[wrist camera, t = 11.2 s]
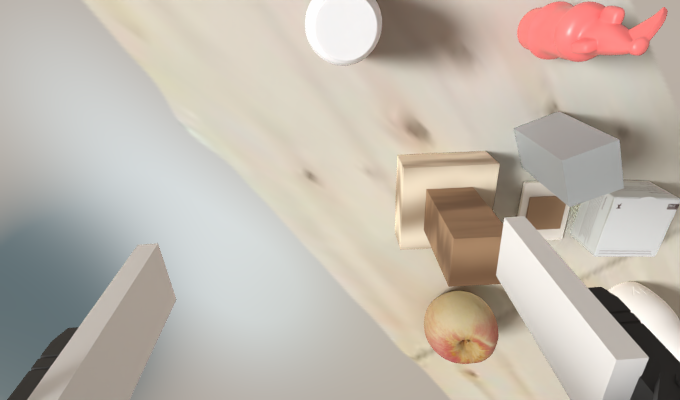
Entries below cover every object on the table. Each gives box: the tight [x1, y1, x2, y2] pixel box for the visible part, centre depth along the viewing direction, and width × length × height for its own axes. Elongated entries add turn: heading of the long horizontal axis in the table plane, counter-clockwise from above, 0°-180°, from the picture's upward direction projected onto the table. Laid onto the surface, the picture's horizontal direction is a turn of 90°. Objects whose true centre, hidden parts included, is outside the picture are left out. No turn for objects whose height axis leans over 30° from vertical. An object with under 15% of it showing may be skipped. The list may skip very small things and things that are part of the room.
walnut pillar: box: [424, 187, 503, 287], centre depth 40 cm, size 5×5×10 cm
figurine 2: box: [608, 281, 680, 362], centre depth 51 cm, size 7×8×12 cm
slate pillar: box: [514, 111, 624, 207], centre depth 41 cm, size 5×5×10 cm
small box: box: [570, 180, 680, 257], centre depth 48 cm, size 8×8×5 cm
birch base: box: [395, 151, 500, 250], centre depth 46 cm, size 10×10×4 cm
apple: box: [424, 291, 498, 364], centre depth 52 cm, size 9×9×8 cm
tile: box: [517, 181, 570, 240], centre depth 49 cm, size 8×6×1 cm
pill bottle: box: [305, 0, 382, 66], centre depth 34 cm, size 6×6×11 cm
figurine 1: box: [517, 2, 668, 62], centre depth 34 cm, size 5×5×15 cm
